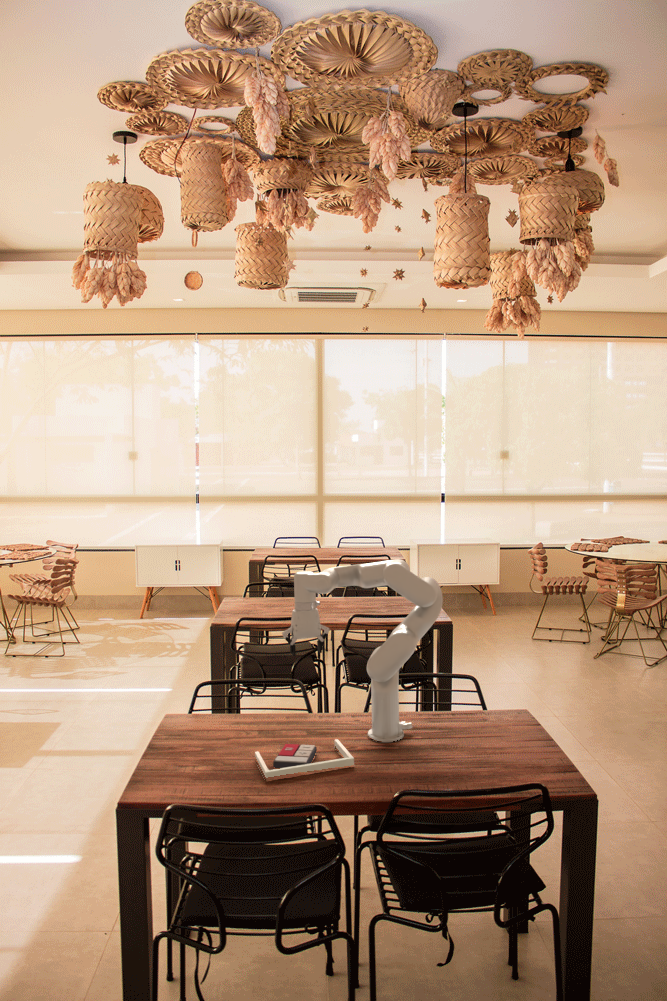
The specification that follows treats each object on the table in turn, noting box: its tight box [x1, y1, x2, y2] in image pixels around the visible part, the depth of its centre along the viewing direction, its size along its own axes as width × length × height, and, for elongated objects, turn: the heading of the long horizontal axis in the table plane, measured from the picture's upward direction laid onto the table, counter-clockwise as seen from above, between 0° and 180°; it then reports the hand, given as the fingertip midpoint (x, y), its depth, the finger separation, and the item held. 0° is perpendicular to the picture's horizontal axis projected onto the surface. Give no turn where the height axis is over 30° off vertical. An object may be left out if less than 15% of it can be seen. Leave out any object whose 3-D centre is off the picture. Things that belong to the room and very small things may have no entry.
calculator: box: [272, 743, 318, 768], centre depth 229 cm, size 11×4×15 cm
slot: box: [254, 738, 355, 778], centre depth 228 cm, size 28×16×3 cm, turn 108°
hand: (306, 653), depth 253 cm, fingers open, 9 cm apart
